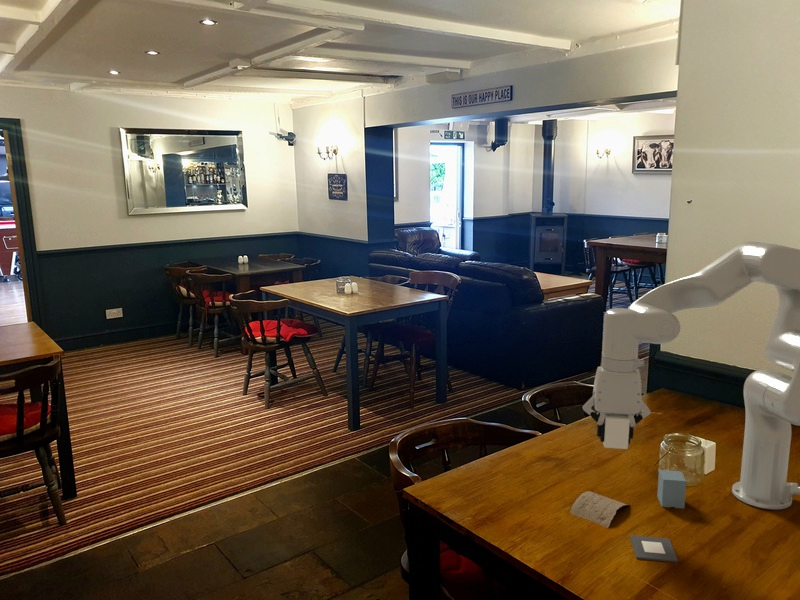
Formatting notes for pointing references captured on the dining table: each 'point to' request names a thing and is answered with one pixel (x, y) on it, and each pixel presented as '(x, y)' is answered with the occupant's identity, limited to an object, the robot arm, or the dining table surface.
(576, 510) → the clay tablet
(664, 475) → the slate-blue block
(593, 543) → the dining table surface
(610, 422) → the cream block
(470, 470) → the dining table surface
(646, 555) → the card
